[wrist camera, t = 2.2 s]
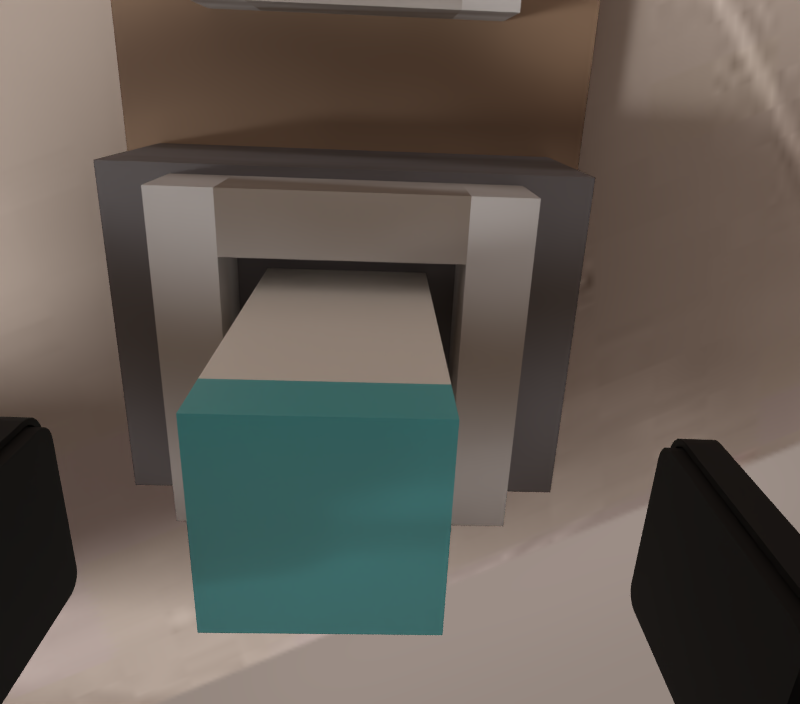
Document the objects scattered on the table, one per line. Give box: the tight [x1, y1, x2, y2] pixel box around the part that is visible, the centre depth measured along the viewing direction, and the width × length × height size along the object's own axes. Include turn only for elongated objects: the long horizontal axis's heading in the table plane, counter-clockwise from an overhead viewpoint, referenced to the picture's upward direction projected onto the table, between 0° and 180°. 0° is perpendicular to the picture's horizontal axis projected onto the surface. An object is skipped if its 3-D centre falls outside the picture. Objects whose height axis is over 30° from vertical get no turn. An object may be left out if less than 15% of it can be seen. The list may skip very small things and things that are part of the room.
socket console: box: [94, 0, 600, 526], centre depth 17 cm, size 22×14×8 cm, turn 178°
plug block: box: [176, 268, 459, 635], centre depth 14 cm, size 4×4×8 cm
